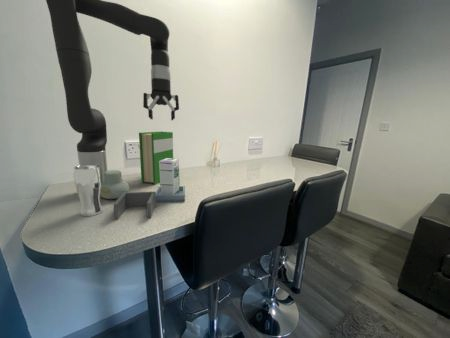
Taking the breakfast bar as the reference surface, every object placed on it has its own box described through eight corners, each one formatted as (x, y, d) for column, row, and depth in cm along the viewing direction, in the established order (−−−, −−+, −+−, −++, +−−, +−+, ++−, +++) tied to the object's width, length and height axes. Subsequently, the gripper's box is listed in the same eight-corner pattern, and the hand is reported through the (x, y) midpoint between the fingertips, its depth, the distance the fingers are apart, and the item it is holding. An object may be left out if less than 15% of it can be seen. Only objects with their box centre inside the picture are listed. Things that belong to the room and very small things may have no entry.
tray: (154, 202, 75) (154, 195, 74) (158, 192, 85) (158, 186, 85) (184, 201, 77) (184, 195, 76) (184, 191, 87) (184, 186, 87)
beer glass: (99, 205, 70) (95, 163, 66) (107, 211, 66) (103, 167, 62) (75, 212, 64) (69, 166, 61) (83, 219, 60) (76, 170, 57)
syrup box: (174, 197, 78) (173, 161, 74) (160, 196, 79) (158, 160, 75) (179, 193, 83) (179, 158, 80) (166, 191, 84) (165, 157, 81)
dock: (114, 219, 61) (113, 204, 60) (124, 205, 71) (123, 192, 70) (151, 217, 63) (150, 203, 62) (155, 204, 73) (155, 191, 72)
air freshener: (94, 197, 76) (91, 172, 74) (112, 191, 84) (111, 168, 82) (116, 202, 73) (114, 176, 71) (133, 195, 81) (132, 171, 78)
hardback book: (155, 184, 95) (153, 133, 90) (141, 183, 97) (138, 132, 92) (173, 175, 112) (172, 132, 107) (161, 174, 114) (160, 131, 108)
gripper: (140, 75, 77) (142, 119, 81) (178, 78, 80) (178, 120, 84) (144, 79, 85) (146, 119, 88) (178, 82, 87) (179, 120, 91)
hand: (162, 119), depth 86 cm, fingers open, 8 cm apart
